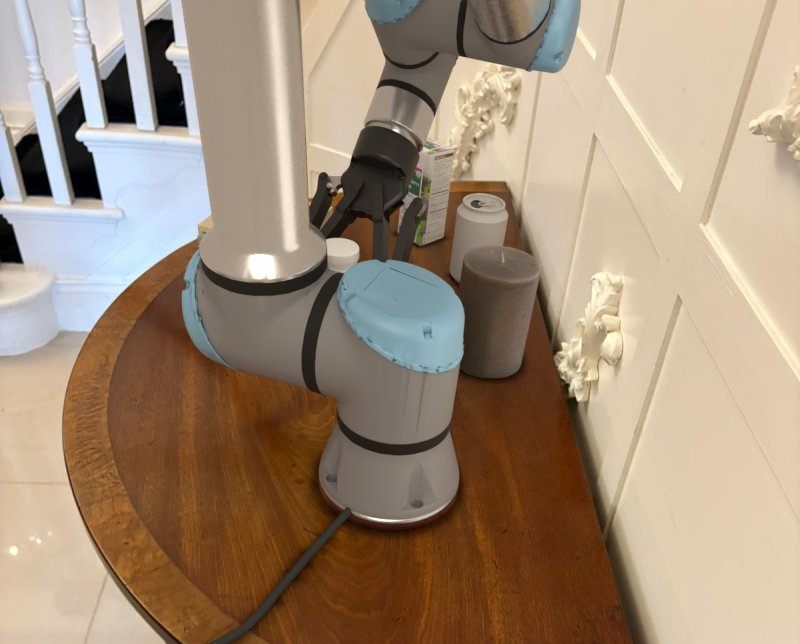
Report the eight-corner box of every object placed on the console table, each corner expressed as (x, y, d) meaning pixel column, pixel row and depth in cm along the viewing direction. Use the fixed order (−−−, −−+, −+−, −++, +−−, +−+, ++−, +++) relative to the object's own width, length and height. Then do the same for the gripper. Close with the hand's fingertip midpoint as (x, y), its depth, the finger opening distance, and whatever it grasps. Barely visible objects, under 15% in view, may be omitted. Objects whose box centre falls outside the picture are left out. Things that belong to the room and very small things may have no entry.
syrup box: (396, 234, 130) (402, 141, 120) (421, 225, 133) (430, 134, 123) (419, 247, 127) (428, 153, 117) (445, 238, 131) (456, 146, 120)
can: (451, 264, 124) (460, 187, 116) (498, 270, 124) (511, 193, 115) (446, 286, 119) (456, 207, 110) (495, 293, 118) (509, 214, 110)
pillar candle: (460, 381, 101) (476, 272, 91) (442, 340, 108) (455, 234, 97) (531, 377, 103) (556, 270, 92) (509, 337, 110) (529, 233, 99)
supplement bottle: (367, 333, 101) (372, 237, 92) (360, 362, 97) (364, 263, 87) (315, 327, 101) (315, 230, 92) (306, 355, 97) (305, 256, 87)
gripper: (473, 176, 94) (405, 358, 95) (329, 139, 99) (266, 313, 100) (462, 142, 86) (389, 340, 87) (307, 105, 91) (239, 292, 92)
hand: (323, 325), depth 93 cm, fingers closed on supplement bottle, 7 cm apart
